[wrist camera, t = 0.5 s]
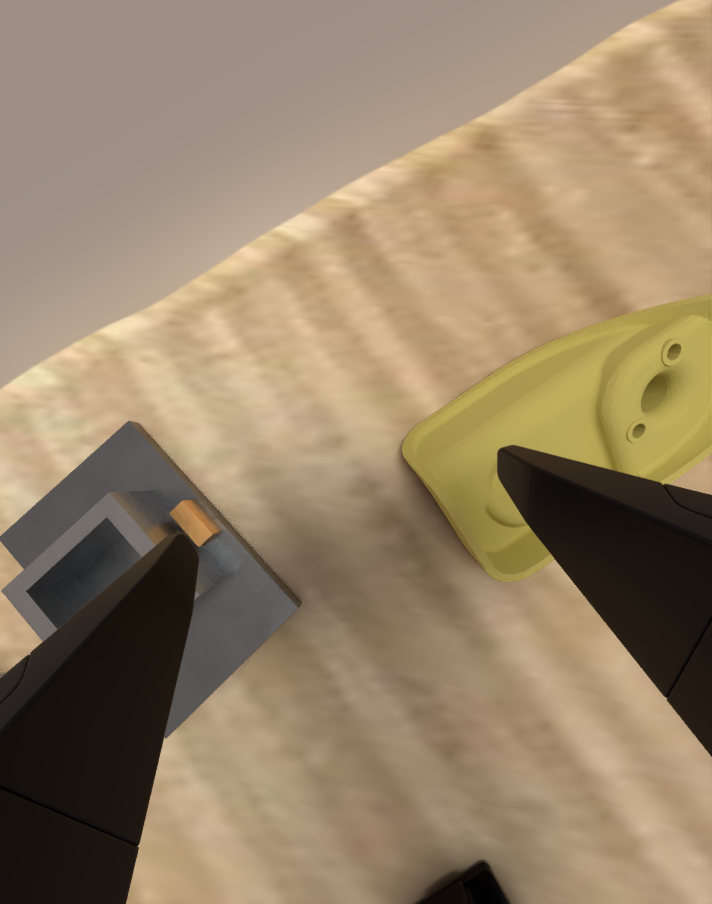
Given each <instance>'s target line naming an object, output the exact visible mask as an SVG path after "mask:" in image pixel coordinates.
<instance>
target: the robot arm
mask: <svg viewBox="0 0 712 904" xmlns="http://www.w3.org/2000/svg"><path fill="white" fill-rule="evenodd" d="M497 475H498V478H499V480H500V482H501V484H502V485H503V487H504V488H505V490H506V492H507V493H508V495H509V496H510V498H511V500H512V501H513V503H514V504H515V506H516V508H517V509H518V511H519V512H520V514H521V516H522V517H523V519H524V520H525V522H526V523H527V525H528V526H529V527H530V528H531V530H532V531H533V532H534V534H535V535H536V536H537V537H538V539H539V540H540V541H541V542H542V544H543V545H544V546H545V547H546V549H547V550H548V551H549V552H550V554H551V555H552V556H553V557H554V559H555V560H556V561H557V562H558V564H559V565H560V566H561V568H562V569H563V570H564V571H565V573H566V574H567V575H568V576H569V578H570V579H571V580H572V581H573V583H574V584H575V585H576V586H577V588H578V589H579V590H580V591H581V593H582V594H583V595H584V596H585V598H586V599H587V600H588V601H589V603H590V604H591V605H592V606H593V608H594V609H595V610H596V611H597V613H598V614H599V615H600V617H601V618H602V619H603V620H604V622H605V623H606V624H607V625H608V627H609V628H610V629H611V630H612V632H613V633H614V634H615V635H616V637H617V638H618V639H619V640H620V642H621V643H622V644H623V645H624V647H625V648H626V649H627V650H628V652H629V653H630V654H631V655H632V657H633V658H634V659H635V660H636V662H637V663H638V664H639V666H640V667H641V668H642V669H643V671H644V672H645V673H646V674H647V676H648V677H649V678H650V679H651V681H652V682H653V683H654V684H655V686H656V687H657V688H658V689H659V691H660V692H661V693H662V694H663V696H664V697H666V698H667V701H668V702H669V704H670V705H671V706H672V707H673V709H674V710H675V711H676V712H677V714H678V715H679V716H680V717H681V719H682V720H683V721H684V722H685V724H686V725H687V726H688V728H689V729H690V730H691V731H692V733H693V734H694V735H695V736H696V738H697V739H698V740H699V741H700V743H701V744H702V745H703V746H704V748H705V749H706V750H707V751H708V753H709V754H710V755H711V756H712V495H710V494H705V493H701V492H697V491H693V490H689V489H685V488H681V487H677V486H673V485H670V484H662V483H661V482H658V481H654V480H650V479H646V478H642V477H638V476H634V475H630V474H626V473H622V472H618V471H615V470H611V469H607V468H603V467H599V466H595V465H591V464H587V463H583V462H579V461H576V460H572V459H568V458H564V457H560V456H556V455H552V454H548V453H544V452H540V451H537V450H533V449H529V448H525V447H521V446H517V445H509V446H505V447H502V448H499V450H498V452H497ZM198 566H199V556H198V553H197V551H196V550H195V548H194V547H193V545H192V544H191V542H190V541H189V539H188V538H187V536H186V535H185V534H184V533H177V534H174V535H170V536H167V537H165V538H164V539H163V540H162V541H161V542H159V543H158V544H157V545H156V546H155V547H154V548H152V549H151V550H150V551H149V552H148V553H147V554H145V555H144V556H143V557H142V558H141V559H139V560H138V561H137V562H136V563H135V564H134V565H132V566H131V567H130V568H129V569H128V570H127V571H125V572H124V573H123V574H122V575H121V576H120V577H118V578H117V579H116V580H115V581H114V582H113V583H111V584H110V585H109V586H108V587H107V588H105V589H104V590H103V591H102V592H101V593H100V594H98V595H97V596H96V597H95V598H94V599H93V600H91V601H90V602H89V603H88V604H87V605H86V606H84V607H83V608H82V609H81V610H80V611H79V612H77V613H76V614H75V615H74V616H73V617H71V618H70V619H69V620H68V621H67V622H66V623H64V624H63V625H62V626H61V627H60V628H59V629H57V630H56V631H55V632H54V633H53V634H52V635H50V636H49V637H48V638H47V639H46V640H45V641H43V642H42V643H41V644H40V645H39V646H37V647H36V648H35V649H34V650H33V651H32V652H31V653H30V655H27V656H26V657H24V658H23V659H22V660H21V661H20V662H19V663H17V664H16V665H15V666H14V667H13V668H12V669H10V670H9V671H8V672H7V673H6V674H4V675H3V676H2V677H1V678H0V904H126V901H127V897H128V892H129V888H130V884H131V880H132V875H133V871H134V867H135V862H136V858H137V854H138V849H139V847H138V845H139V843H140V839H141V835H142V831H143V826H144V822H145V818H146V813H147V809H148V805H149V800H150V796H151V792H152V788H153V783H154V779H155V775H156V770H157V766H158V762H159V757H160V753H161V749H162V744H163V740H164V736H165V731H166V727H167V723H168V718H169V714H170V710H171V705H172V701H173V697H174V692H175V688H176V684H177V679H178V675H179V671H180V666H181V662H182V658H183V653H184V649H185V645H186V640H187V636H188V632H189V627H190V623H191V618H192V613H193V607H194V599H195V591H196V583H197V574H198ZM484 875H486V876H484ZM421 904H511V903H510V901H509V899H508V897H507V896H506V894H505V892H504V890H503V889H502V887H501V885H500V883H499V882H498V880H497V878H496V876H495V875H494V873H493V871H492V869H491V868H490V866H489V865H487V864H486V863H482V864H480V865H478V866H477V867H475V868H474V869H472V870H471V871H469V872H468V873H466V874H465V875H463V876H462V877H460V878H459V879H457V880H456V881H454V882H453V883H451V884H450V885H448V886H447V887H445V888H444V889H442V890H441V891H439V892H438V893H436V894H435V895H433V896H432V897H430V898H429V899H427V900H426V901H424V902H423V903H421Z"/></svg>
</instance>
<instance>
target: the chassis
mask: <svg viewBox="0 0 712 904" xmlns="http://www.w3.org/2000/svg"><path fill="white" fill-rule="evenodd" d="M177 533H184V534H185V535H186V536H187V538H188V539H189V541H190V542H191V544H192V545H193V547H194V548H195V550H196V551H197V553H198V556H199V566H198V574H197V583H196V591H195V599H194V607H193V613H192V618H191V623H190V627H189V632H188V636H187V640H186V645H185V649H184V653H183V658H182V662H181V666H180V671H179V675H178V679H177V684H176V688H175V692H174V697H173V701H172V705H171V710H170V714H169V718H168V723H167V727H166V731H165V736H164V737H165V738H167V737H168V736H169V735H170V734H171V733H172V732H173V731H174V730H175V729H176V728H177V727H178V726H179V725H181V724H182V723H183V722H184V721H185V720H186V719H187V718H188V717H189V716H190V715H191V714H192V713H193V712H194V711H195V710H196V709H197V708H198V707H199V706H200V705H201V704H202V703H203V702H204V701H205V700H206V699H207V698H208V697H209V696H210V695H211V694H212V693H213V692H214V691H215V690H216V689H217V688H218V687H219V686H220V685H221V684H222V683H223V682H224V681H225V680H226V679H227V678H228V677H229V676H230V675H231V674H232V673H233V672H234V671H235V670H236V669H237V668H238V667H239V666H241V665H242V664H243V663H244V662H245V661H246V660H247V659H248V658H249V657H250V656H251V655H252V654H253V653H254V652H255V651H256V650H257V649H258V648H259V647H260V646H261V645H262V644H263V643H264V642H265V641H266V640H267V639H268V638H269V637H270V636H271V635H272V634H273V633H274V632H275V631H276V630H277V629H278V628H279V627H280V626H281V625H282V624H283V623H284V622H285V621H286V620H287V619H288V618H289V617H290V616H291V615H292V614H293V613H294V612H295V611H296V610H297V609H298V608H299V607H300V604H301V602H300V601H299V600H298V599H297V597H296V596H295V595H294V594H293V593H292V592H291V591H290V590H289V589H288V588H287V586H286V585H285V584H284V583H283V582H282V581H281V580H280V579H279V578H278V576H277V575H276V574H275V573H274V572H273V571H272V570H271V569H270V568H269V567H268V565H267V564H266V563H265V562H264V561H263V560H262V559H261V558H260V557H259V556H258V554H257V553H256V552H255V551H254V550H253V549H252V548H251V547H250V546H249V545H248V543H247V542H246V541H245V540H244V539H243V538H242V537H241V536H240V535H239V534H238V532H237V531H236V530H235V529H234V528H233V527H232V526H231V525H230V524H229V523H228V521H227V520H226V519H225V518H224V517H223V516H222V515H221V514H220V513H219V512H218V510H217V509H216V508H215V507H214V506H213V505H212V504H211V503H210V502H209V501H208V499H207V498H206V497H205V496H204V495H203V494H202V493H201V492H200V491H199V490H198V488H197V487H196V486H195V485H194V484H193V483H192V482H191V481H190V480H189V479H188V477H187V476H186V475H185V474H184V473H183V472H182V471H181V470H180V469H179V467H178V466H177V465H176V464H175V463H174V462H173V461H172V460H171V459H170V458H169V456H168V455H167V454H166V453H165V452H164V451H163V450H162V449H161V448H160V447H159V445H158V444H157V443H156V442H155V441H154V440H153V439H152V438H151V437H150V436H149V434H148V433H147V432H146V431H145V430H144V429H143V428H142V427H141V426H140V425H139V423H136V422H132V421H128V422H127V423H126V424H125V425H123V426H122V427H121V428H120V429H119V430H118V431H117V432H116V433H115V434H113V435H112V436H111V437H110V438H109V439H108V440H107V441H106V442H105V443H103V444H102V445H101V446H100V447H99V448H98V449H97V450H96V451H95V452H93V453H92V454H91V455H90V456H89V457H88V458H87V459H86V460H85V461H83V462H82V463H81V464H80V465H79V466H78V467H77V468H76V469H75V470H73V471H72V472H71V473H70V474H69V475H68V476H67V477H66V478H65V479H63V480H62V481H61V482H60V483H59V484H58V485H57V486H56V487H55V488H53V489H52V490H51V491H50V492H49V493H48V494H47V495H46V496H45V497H43V498H42V499H41V500H40V501H39V502H38V503H37V504H36V505H35V506H33V507H32V508H31V509H30V510H29V511H28V512H27V513H26V514H25V515H23V516H22V517H21V518H20V519H19V520H18V521H17V522H16V523H15V524H13V525H12V526H11V527H10V528H9V529H8V530H7V531H6V532H5V533H3V534H2V535H1V536H0V541H1V542H2V543H3V545H4V546H5V547H6V548H7V549H8V551H9V552H10V553H11V554H12V555H13V557H14V558H15V559H16V560H17V561H18V563H19V564H20V565H21V566H22V567H23V569H24V570H23V571H22V572H21V573H20V574H19V575H18V576H17V577H16V578H15V579H13V580H12V581H11V582H10V583H9V584H8V585H7V586H6V587H5V588H4V589H3V590H1V591H2V592H3V594H4V595H5V596H6V597H7V598H8V600H9V601H10V602H11V603H12V604H13V606H14V607H15V608H16V609H17V611H18V612H19V613H20V614H21V615H22V617H23V618H24V619H25V620H26V621H27V623H28V624H29V625H30V626H31V628H32V629H33V630H34V631H35V632H36V634H37V635H38V636H39V637H40V638H41V640H42V641H45V640H46V639H47V638H48V637H49V636H50V635H52V634H53V633H54V632H55V631H56V630H57V629H59V628H60V627H61V626H62V625H63V624H64V623H66V622H67V621H68V620H69V619H70V618H71V617H73V616H74V615H75V614H76V613H77V612H79V611H80V610H81V609H82V608H83V607H84V606H86V605H87V604H88V603H89V602H90V601H91V600H93V599H94V598H95V597H96V596H97V595H98V594H100V593H101V592H102V591H103V590H104V589H105V588H107V587H108V586H109V585H110V584H111V583H113V582H114V581H115V580H116V579H117V578H118V577H120V576H121V575H122V574H123V573H124V572H125V571H127V570H128V569H129V568H130V567H131V566H132V565H134V564H135V563H136V562H137V561H138V560H139V559H141V558H142V557H143V556H144V555H145V554H147V553H148V552H149V551H150V550H151V549H152V548H154V547H155V546H156V545H157V544H158V543H159V542H161V541H162V540H163V539H164V538H165V537H167V536H170V535H174V534H177Z"/></svg>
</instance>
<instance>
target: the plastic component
mask: <svg viewBox="0 0 712 904" xmlns="http://www.w3.org/2000/svg"><path fill="white" fill-rule="evenodd" d="M667 352H668V353H667ZM633 429H634V430H633ZM509 445H517V446H521V447H525V448H529V449H533V450H537V451H540V452H544V453H548V454H552V455H556V456H560V457H564V458H568V459H572V460H576V461H579V462H583V463H587V464H591V465H595V466H599V467H603V468H607V469H611V470H615V471H618V472H622V473H626V474H630V475H634V476H638V477H642V478H646V479H650V480H654V481H658V482H661V483H662V484H670V483H671V482H672V481H674V480H675V479H677V478H678V477H680V476H681V475H683V474H684V473H686V472H687V471H688V470H690V469H691V468H693V467H694V466H695V465H697V464H698V463H699V462H701V461H702V460H703V459H704V458H706V457H707V456H708V455H709V454H711V453H712V294H710V295H704V296H699V297H694V298H689V299H685V300H680V301H676V302H671V303H667V304H662V305H659V306H655V307H651V308H647V309H643V310H640V311H636V312H633V313H629V314H626V315H623V316H619V317H616V318H613V319H610V320H607V321H604V322H601V323H598V324H595V325H592V326H589V327H586V328H584V329H581V330H578V331H575V332H573V333H570V334H568V335H566V336H563V337H561V338H558V339H556V340H554V341H551V342H549V343H547V344H545V345H543V346H540V347H538V348H536V349H534V350H532V351H530V352H528V353H526V354H524V355H523V356H521V357H519V358H517V359H515V360H513V361H512V362H510V363H508V364H507V365H505V366H503V367H501V368H500V369H498V370H497V371H495V372H494V373H492V374H491V375H489V376H488V377H486V378H485V379H484V380H482V381H481V382H479V383H478V384H476V385H475V386H473V387H472V388H470V389H469V390H468V391H466V392H465V393H463V394H462V395H460V396H459V397H457V398H456V399H454V400H453V401H452V402H450V403H449V404H447V405H446V406H444V407H443V408H441V409H440V410H438V411H437V412H436V413H434V414H433V415H431V416H430V417H428V418H427V419H425V420H424V421H422V422H421V423H420V424H418V425H417V426H415V427H414V428H413V429H412V430H411V431H410V432H409V434H408V435H407V437H406V438H405V440H404V442H403V445H402V454H403V457H404V458H405V460H406V461H407V463H408V464H409V466H410V467H411V468H412V469H413V470H414V471H415V472H416V474H417V475H418V476H419V478H420V479H421V480H422V481H423V483H424V484H425V486H426V487H427V488H428V490H429V491H430V493H431V494H432V496H433V497H434V499H435V500H436V502H437V503H438V505H439V507H440V508H441V510H442V511H443V513H444V514H445V516H446V518H447V519H448V521H449V522H450V524H451V526H452V527H453V529H454V530H455V532H456V533H457V535H458V537H459V538H460V540H461V541H462V543H463V544H464V546H465V548H466V549H467V550H468V551H469V552H470V554H471V555H472V556H473V557H474V558H475V560H476V561H477V562H478V563H479V564H480V566H481V567H482V568H483V569H484V570H485V572H486V573H487V574H488V575H489V576H491V577H492V578H493V579H496V580H498V581H502V582H514V581H518V580H522V579H524V578H526V577H528V576H530V575H532V574H533V573H535V572H536V571H538V570H539V569H541V568H542V567H544V566H545V565H547V564H549V563H550V562H552V561H553V560H555V559H554V557H553V556H552V555H551V554H550V552H549V551H548V550H547V549H546V547H545V546H544V545H543V544H542V542H541V541H540V540H539V539H538V537H537V536H536V535H535V534H534V532H533V531H532V530H531V528H530V527H529V526H528V525H527V523H526V522H525V520H524V519H523V517H522V516H521V514H520V512H519V511H518V509H517V508H516V506H515V504H514V503H513V501H512V500H511V498H510V496H509V495H508V493H507V492H506V490H505V488H504V487H503V485H502V484H501V482H500V480H499V478H498V475H497V452H498V450H499V448H502V447H505V446H509Z"/></svg>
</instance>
